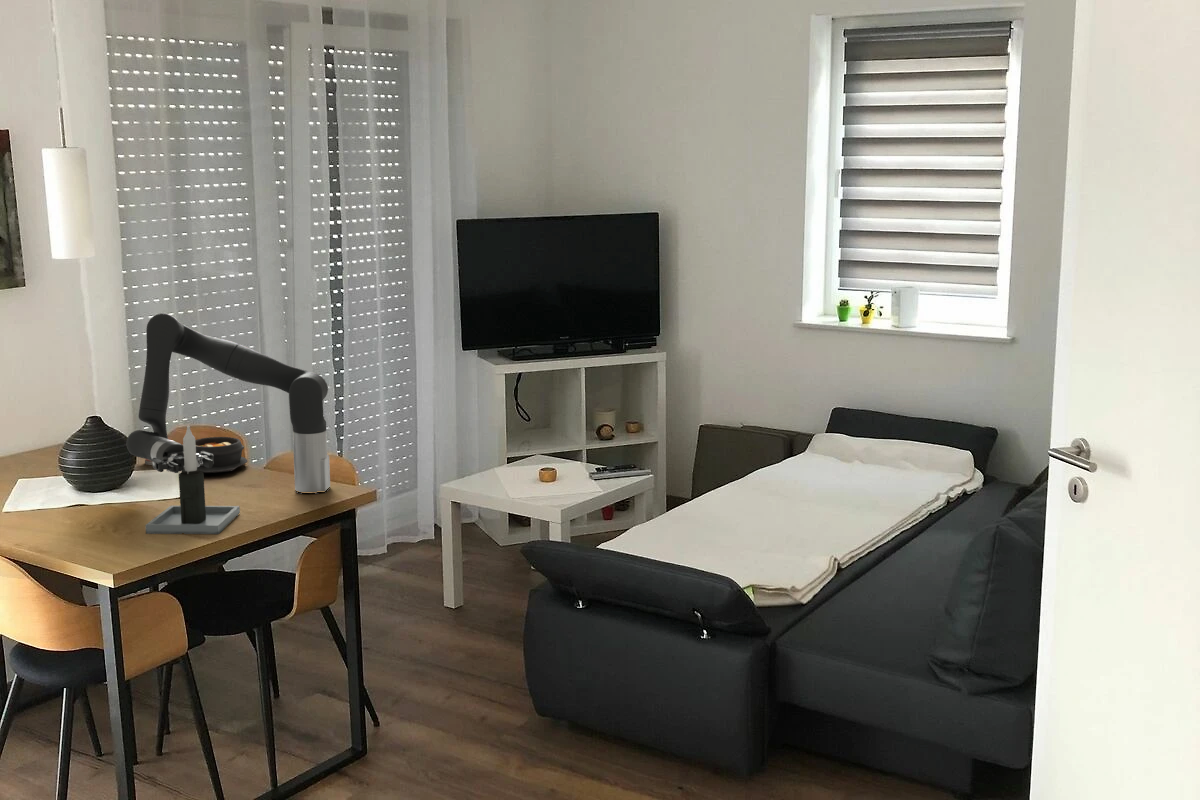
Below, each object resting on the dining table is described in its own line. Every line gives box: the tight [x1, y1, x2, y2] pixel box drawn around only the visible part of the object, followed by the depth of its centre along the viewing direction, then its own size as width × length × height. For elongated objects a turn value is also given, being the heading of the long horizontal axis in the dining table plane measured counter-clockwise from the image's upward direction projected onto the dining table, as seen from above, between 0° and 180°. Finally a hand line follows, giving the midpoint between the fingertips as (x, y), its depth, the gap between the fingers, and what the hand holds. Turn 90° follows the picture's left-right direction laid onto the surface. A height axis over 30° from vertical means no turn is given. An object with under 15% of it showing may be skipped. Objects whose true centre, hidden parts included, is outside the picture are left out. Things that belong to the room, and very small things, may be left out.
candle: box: [178, 424, 206, 524], centre depth 304 cm, size 5×5×25 cm
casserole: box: [195, 436, 249, 474], centre depth 363 cm, size 25×19×8 cm
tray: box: [145, 505, 241, 535], centre depth 306 cm, size 18×18×2 cm
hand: (194, 466), depth 302 cm, fingers open, 8 cm apart
